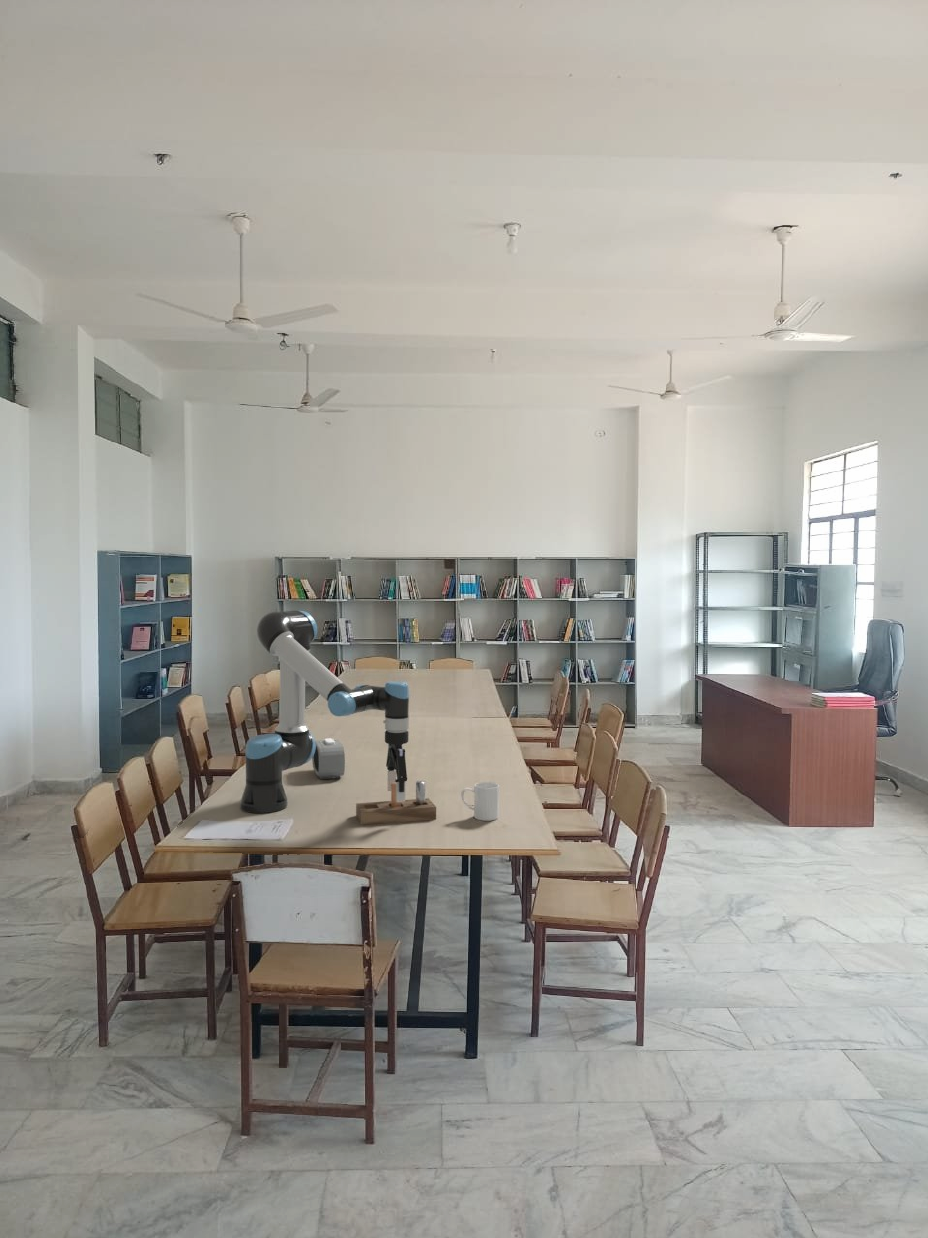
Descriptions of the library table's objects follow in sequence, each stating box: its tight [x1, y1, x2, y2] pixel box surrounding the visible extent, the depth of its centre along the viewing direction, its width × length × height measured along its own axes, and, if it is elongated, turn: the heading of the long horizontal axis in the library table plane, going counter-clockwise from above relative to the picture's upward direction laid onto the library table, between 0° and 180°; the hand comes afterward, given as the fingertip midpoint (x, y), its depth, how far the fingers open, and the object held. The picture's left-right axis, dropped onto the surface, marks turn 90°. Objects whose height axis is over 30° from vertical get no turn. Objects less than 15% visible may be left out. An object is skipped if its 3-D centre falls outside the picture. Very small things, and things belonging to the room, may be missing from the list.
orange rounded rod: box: [390, 782, 401, 807], centre depth 263 cm, size 3×3×11 cm
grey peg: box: [415, 780, 426, 806], centre depth 266 cm, size 3×3×11 cm
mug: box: [460, 781, 500, 822], centre depth 264 cm, size 12×8×10 cm, turn 103°
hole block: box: [355, 797, 437, 826], centre depth 264 cm, size 10×24×4 cm, turn 107°
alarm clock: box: [311, 737, 346, 780], centre depth 317 cm, size 21×10×13 cm, turn 18°
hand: (396, 796), depth 263 cm, fingers open, 13 cm apart
